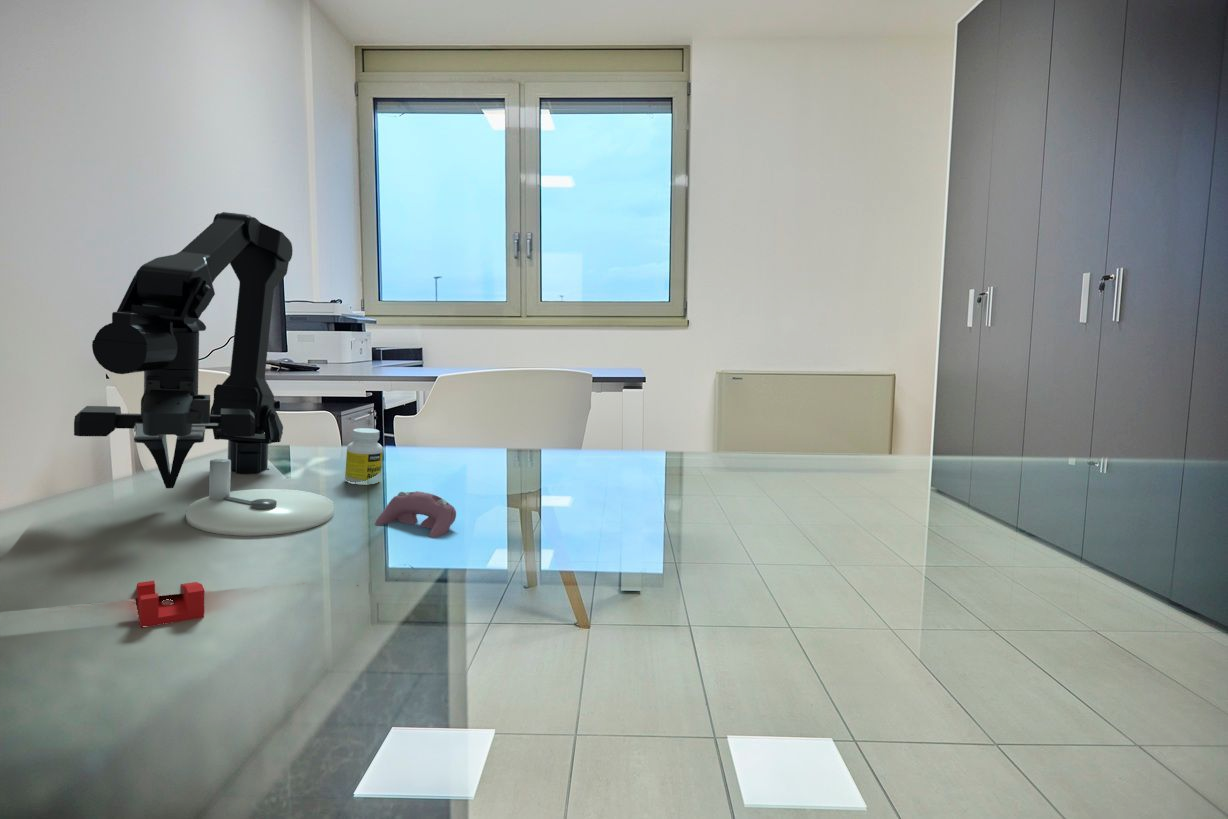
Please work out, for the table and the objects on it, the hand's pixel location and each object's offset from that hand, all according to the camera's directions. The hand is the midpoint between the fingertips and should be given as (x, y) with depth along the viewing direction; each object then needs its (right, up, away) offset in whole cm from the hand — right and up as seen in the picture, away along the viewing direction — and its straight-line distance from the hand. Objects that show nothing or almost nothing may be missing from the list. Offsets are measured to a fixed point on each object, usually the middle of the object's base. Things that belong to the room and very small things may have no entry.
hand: (169, 487), depth 86 cm
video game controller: (+31, -7, +3) cm, 32 cm away
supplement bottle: (+17, -3, +22) cm, 28 cm away
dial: (+11, -4, +1) cm, 12 cm away
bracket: (+15, -9, -23) cm, 29 cm away
